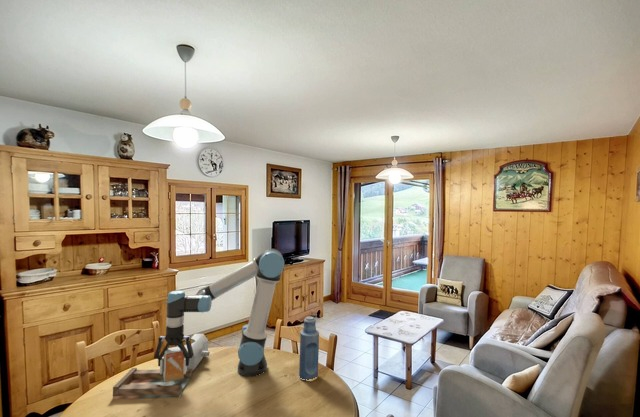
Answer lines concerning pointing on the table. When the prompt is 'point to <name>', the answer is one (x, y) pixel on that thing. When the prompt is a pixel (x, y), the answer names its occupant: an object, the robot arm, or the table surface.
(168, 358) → the small box
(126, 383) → the board
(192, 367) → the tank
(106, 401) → the table surface
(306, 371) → the bottle
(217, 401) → the table surface
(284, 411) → the table surface
